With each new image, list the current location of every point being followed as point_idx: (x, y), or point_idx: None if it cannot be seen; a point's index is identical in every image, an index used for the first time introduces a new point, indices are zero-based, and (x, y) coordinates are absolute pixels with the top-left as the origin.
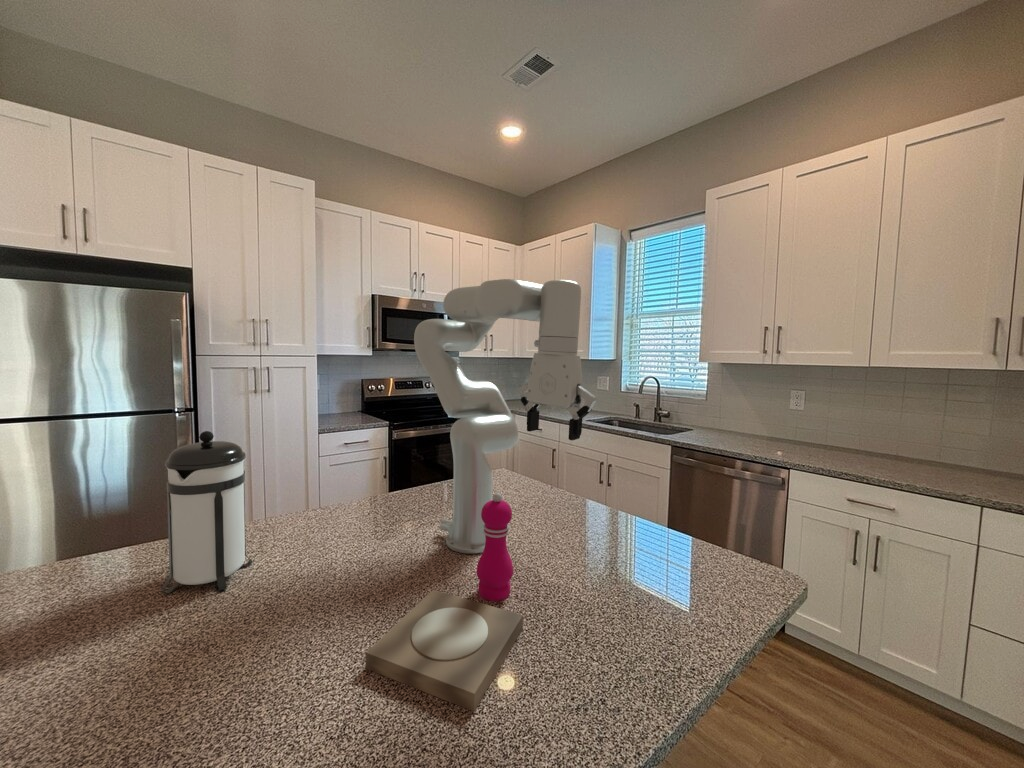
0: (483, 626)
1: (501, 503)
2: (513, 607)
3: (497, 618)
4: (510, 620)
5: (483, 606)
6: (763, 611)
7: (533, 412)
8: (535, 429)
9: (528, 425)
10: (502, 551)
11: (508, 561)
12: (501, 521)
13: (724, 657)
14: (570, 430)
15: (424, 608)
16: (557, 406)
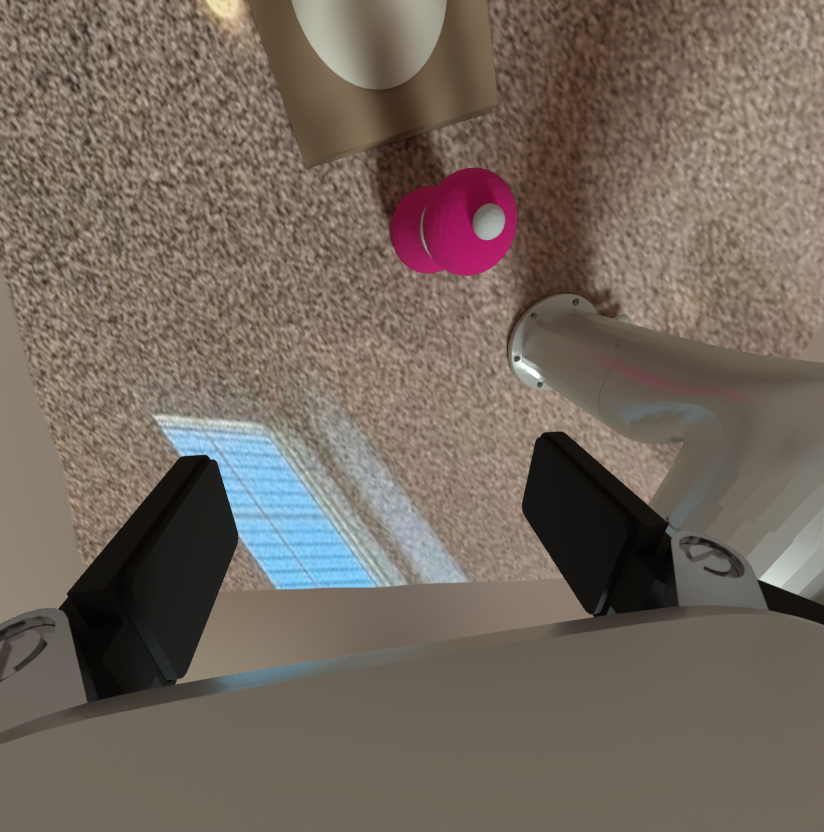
0: (329, 53)
1: (463, 221)
2: (362, 216)
3: (332, 112)
4: (309, 125)
5: (380, 128)
6: (82, 490)
7: (616, 557)
8: (528, 487)
9: (570, 449)
10: (416, 222)
11: (404, 238)
12: (430, 196)
13: (37, 344)
14: (161, 498)
15: (467, 21)
16: (171, 694)
